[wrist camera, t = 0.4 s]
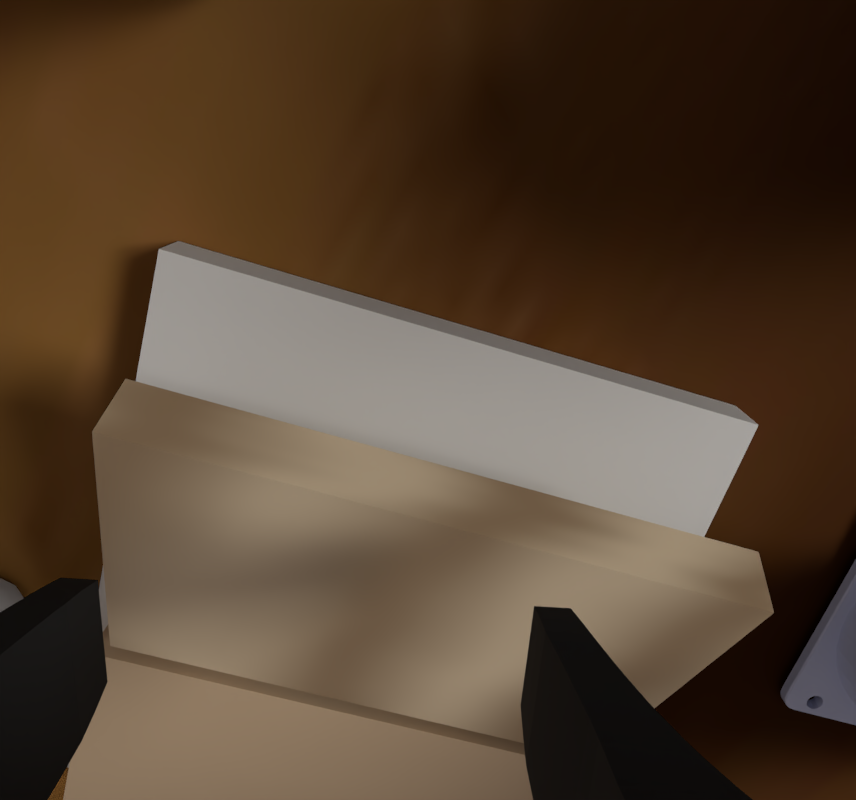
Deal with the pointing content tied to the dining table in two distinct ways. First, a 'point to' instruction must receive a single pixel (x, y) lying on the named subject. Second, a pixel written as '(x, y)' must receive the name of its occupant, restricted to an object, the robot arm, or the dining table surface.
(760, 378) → the dining table surface
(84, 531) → the dining table surface
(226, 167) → the dining table surface
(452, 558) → the oak plank
